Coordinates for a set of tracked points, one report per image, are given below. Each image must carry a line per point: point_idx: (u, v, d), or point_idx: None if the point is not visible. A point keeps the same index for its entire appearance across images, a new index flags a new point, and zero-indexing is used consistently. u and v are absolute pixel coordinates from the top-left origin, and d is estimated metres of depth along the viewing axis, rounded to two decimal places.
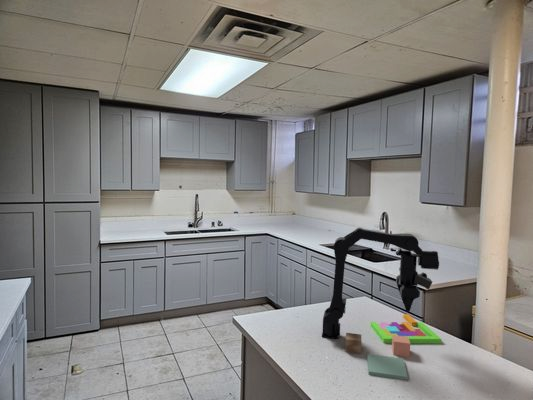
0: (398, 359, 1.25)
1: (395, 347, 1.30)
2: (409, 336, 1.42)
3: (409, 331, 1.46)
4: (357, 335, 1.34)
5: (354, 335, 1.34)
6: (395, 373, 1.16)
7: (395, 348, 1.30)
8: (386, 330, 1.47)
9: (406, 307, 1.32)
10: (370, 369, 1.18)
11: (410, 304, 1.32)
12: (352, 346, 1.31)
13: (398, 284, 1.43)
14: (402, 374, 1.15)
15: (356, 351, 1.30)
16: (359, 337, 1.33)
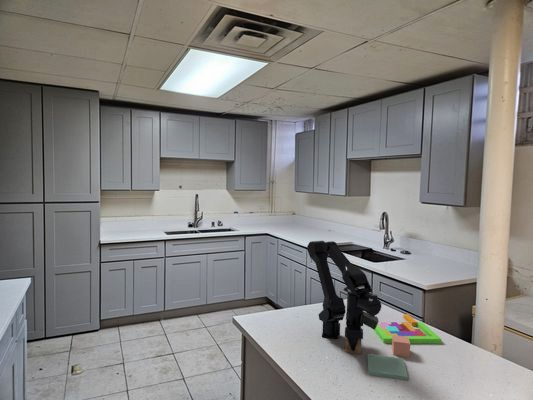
0: (398, 359, 1.25)
1: (395, 347, 1.30)
2: (409, 336, 1.42)
3: (409, 331, 1.46)
4: None
5: None
6: (395, 373, 1.16)
7: (395, 348, 1.30)
8: (386, 330, 1.47)
9: (351, 346, 1.30)
10: (370, 369, 1.18)
11: (355, 343, 1.29)
12: None
13: (347, 323, 1.38)
14: (402, 374, 1.15)
15: (356, 351, 1.30)
16: None
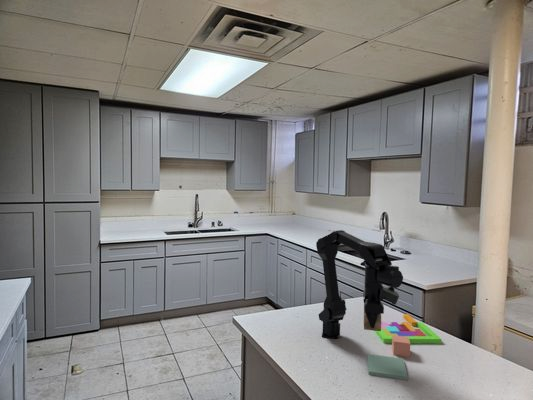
0: (398, 359, 1.25)
1: (395, 347, 1.30)
2: (409, 336, 1.42)
3: (409, 331, 1.46)
4: None
5: None
6: (395, 373, 1.16)
7: (395, 348, 1.30)
8: (386, 330, 1.47)
9: (370, 323, 1.22)
10: (370, 369, 1.18)
11: (375, 320, 1.22)
12: None
13: (365, 300, 1.30)
14: (402, 374, 1.15)
15: (376, 328, 1.23)
16: None
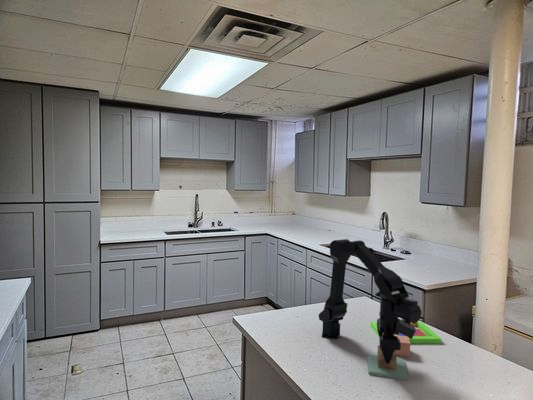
0: (398, 359, 1.25)
1: None
2: None
3: None
4: None
5: None
6: (395, 373, 1.16)
7: None
8: None
9: (386, 358, 1.16)
10: (370, 369, 1.18)
11: (390, 356, 1.16)
12: None
13: (379, 330, 1.26)
14: (402, 374, 1.15)
15: (391, 366, 1.18)
16: None
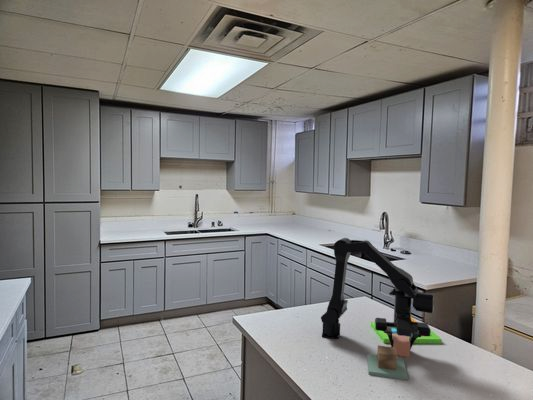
0: (398, 359, 1.25)
1: (395, 346, 1.30)
2: None
3: None
4: (391, 348, 1.22)
5: (387, 348, 1.22)
6: (395, 373, 1.16)
7: (395, 347, 1.30)
8: None
9: None
10: (370, 369, 1.18)
11: (390, 340, 1.32)
12: (386, 361, 1.18)
13: None
14: (402, 374, 1.15)
15: (391, 366, 1.18)
16: (393, 351, 1.20)
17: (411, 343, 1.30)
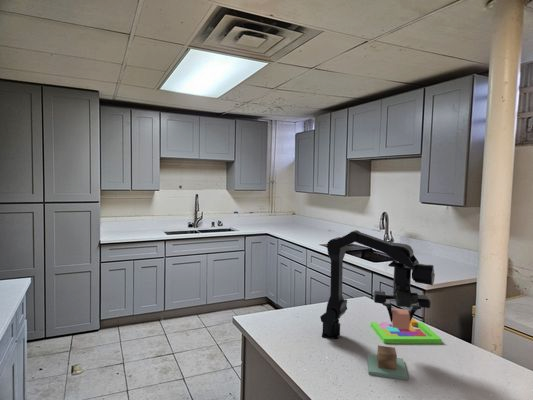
0: (398, 359, 1.25)
1: (395, 319, 1.27)
2: (410, 336, 1.42)
3: (409, 331, 1.46)
4: (391, 348, 1.22)
5: (387, 348, 1.22)
6: (395, 373, 1.16)
7: (394, 320, 1.27)
8: (386, 330, 1.46)
9: None
10: (370, 369, 1.18)
11: (389, 313, 1.30)
12: (386, 361, 1.18)
13: None
14: (402, 374, 1.15)
15: (391, 366, 1.18)
16: (393, 351, 1.20)
17: (411, 316, 1.28)
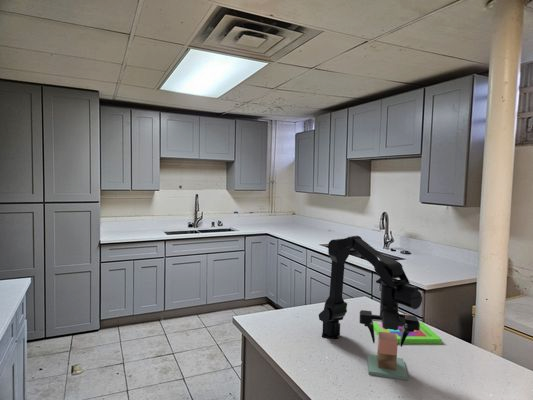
0: (398, 359, 1.25)
1: (381, 344, 1.18)
2: (410, 336, 1.42)
3: None
4: None
5: None
6: (395, 373, 1.16)
7: (380, 345, 1.18)
8: (386, 330, 1.46)
9: None
10: (370, 369, 1.18)
11: None
12: (386, 361, 1.18)
13: None
14: (402, 374, 1.15)
15: (391, 366, 1.18)
16: None
17: (403, 338, 1.18)
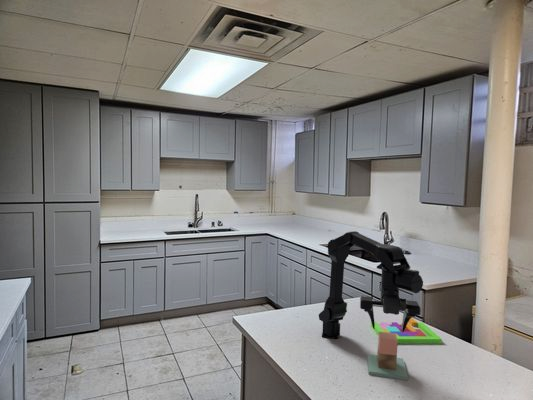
0: (398, 359, 1.25)
1: (381, 344, 1.18)
2: (410, 336, 1.42)
3: (410, 331, 1.46)
4: None
5: None
6: (395, 373, 1.16)
7: (380, 345, 1.18)
8: (387, 330, 1.46)
9: None
10: (370, 369, 1.18)
11: (371, 320, 1.21)
12: (386, 361, 1.18)
13: None
14: (402, 374, 1.15)
15: (391, 366, 1.18)
16: None
17: (405, 324, 1.18)
